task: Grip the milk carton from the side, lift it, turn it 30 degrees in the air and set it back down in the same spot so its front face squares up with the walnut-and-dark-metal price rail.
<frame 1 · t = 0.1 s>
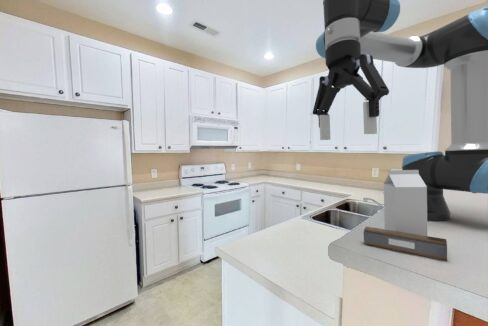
hand: (345, 137, 51), 28 cm above the counter, tool pointing down, fingers open, 13 cm apart
price rail: (402, 249, 53), on the counter
milk carton: (404, 240, 59), on the counter
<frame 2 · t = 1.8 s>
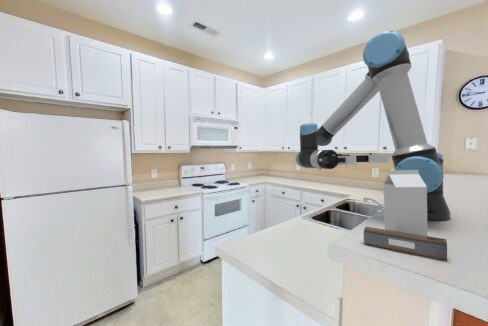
hand: (372, 159, 67), 22 cm above the counter, tool horizontal, fingers open, 13 cm apart
nothing on the counter moved.
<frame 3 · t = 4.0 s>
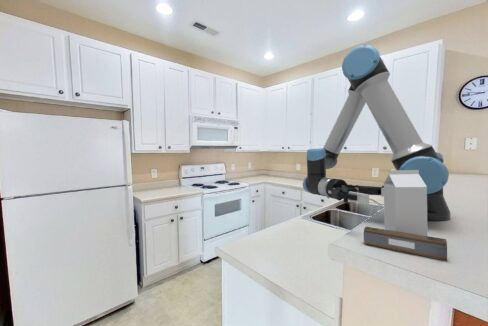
hand: (385, 197, 63), 11 cm above the counter, tool horizontal, fingers open, 13 cm apart
nothing on the counter moved.
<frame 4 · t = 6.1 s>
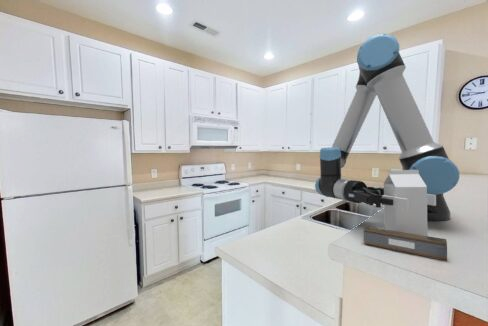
hand: (421, 202, 55), 11 cm above the counter, tool horizontal, fingers closed on milk carton, 10 cm apart
milk carton: (404, 240, 59), on the counter, touching gripper
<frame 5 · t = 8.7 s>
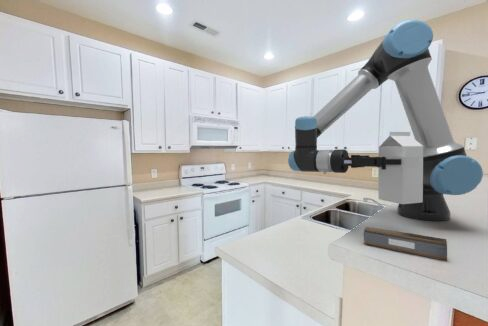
hand: (420, 161, 56), 21 cm above the counter, tool horizontal, fingers closed on milk carton, 10 cm apart
milk carton: (399, 202, 60), point 10 cm above the counter, touching gripper
when the fingers open (12 cm above the counter, at t = 11.8 s): milk carton drops 1 cm, on the counter.
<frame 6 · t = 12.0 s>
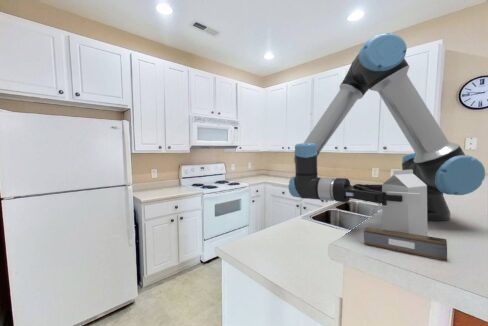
hand: (420, 195, 57), 12 cm above the counter, tool horizontal, fingers open, 12 cm apart
milk carton: (404, 240, 59), on the counter
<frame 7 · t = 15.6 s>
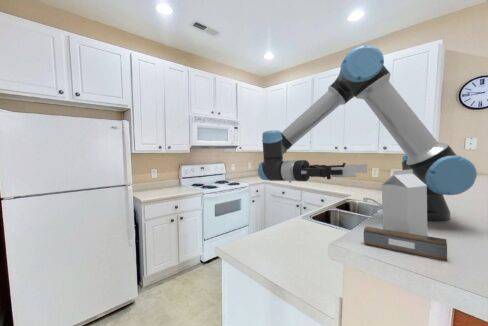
hand: (361, 170, 65), 19 cm above the counter, tool horizontal, fingers open, 13 cm apart
nothing on the counter moved.
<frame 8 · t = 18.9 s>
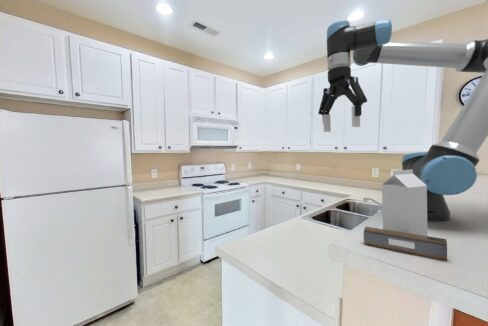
hand: (340, 129, 78), 33 cm above the counter, tool pointing down, fingers open, 13 cm apart
nothing on the counter moved.
at the end: milk carton 0.0 cm from the target spot, on the counter; milk carton tilted 0°; the gripper is holding nothing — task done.
